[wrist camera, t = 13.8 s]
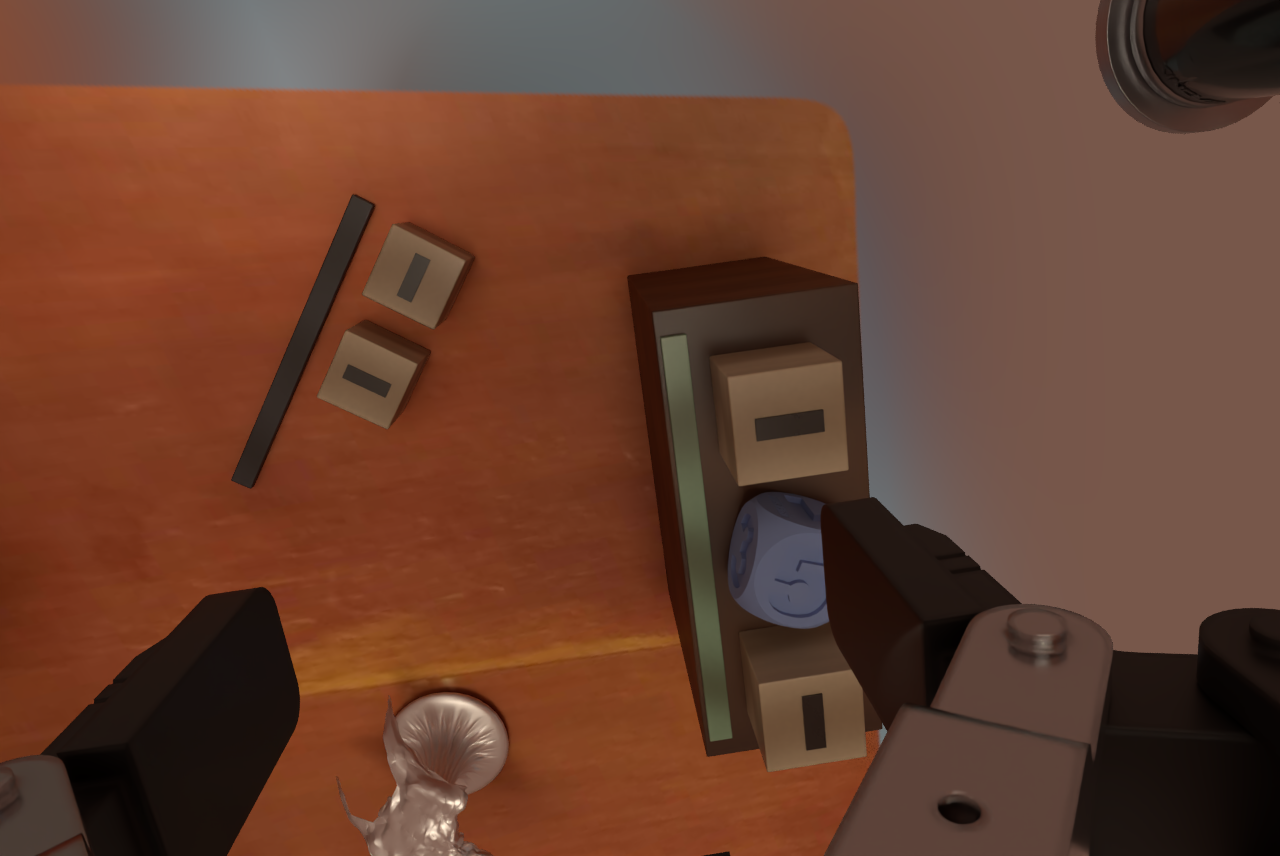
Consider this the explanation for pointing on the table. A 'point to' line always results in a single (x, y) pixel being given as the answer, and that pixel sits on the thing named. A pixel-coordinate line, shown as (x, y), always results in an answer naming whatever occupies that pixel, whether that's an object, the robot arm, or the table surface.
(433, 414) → the table surface
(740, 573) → the decorative dice
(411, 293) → the beige cubes with bar
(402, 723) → the figurine
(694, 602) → the dark brown block
